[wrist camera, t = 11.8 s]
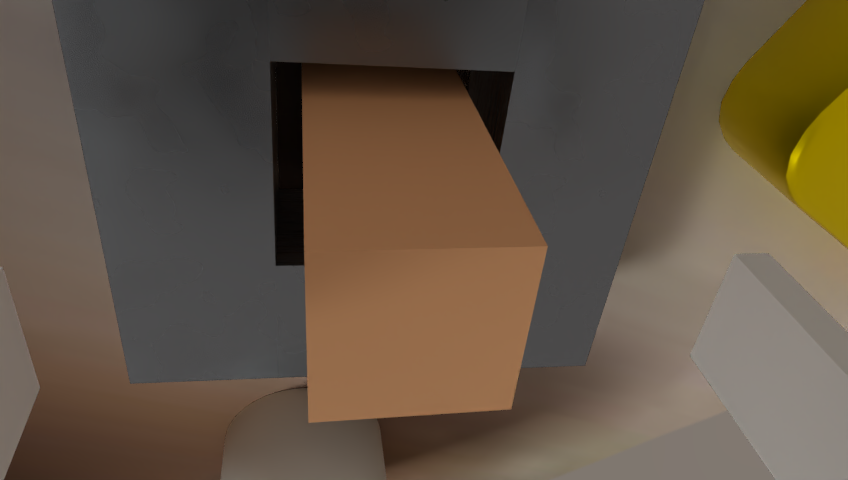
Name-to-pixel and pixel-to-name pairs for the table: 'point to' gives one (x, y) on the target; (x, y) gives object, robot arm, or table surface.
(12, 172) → the table surface
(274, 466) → the round peg
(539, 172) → the bore block
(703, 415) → the table surface
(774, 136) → the element tile
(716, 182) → the table surface
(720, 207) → the table surface
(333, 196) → the square peg
